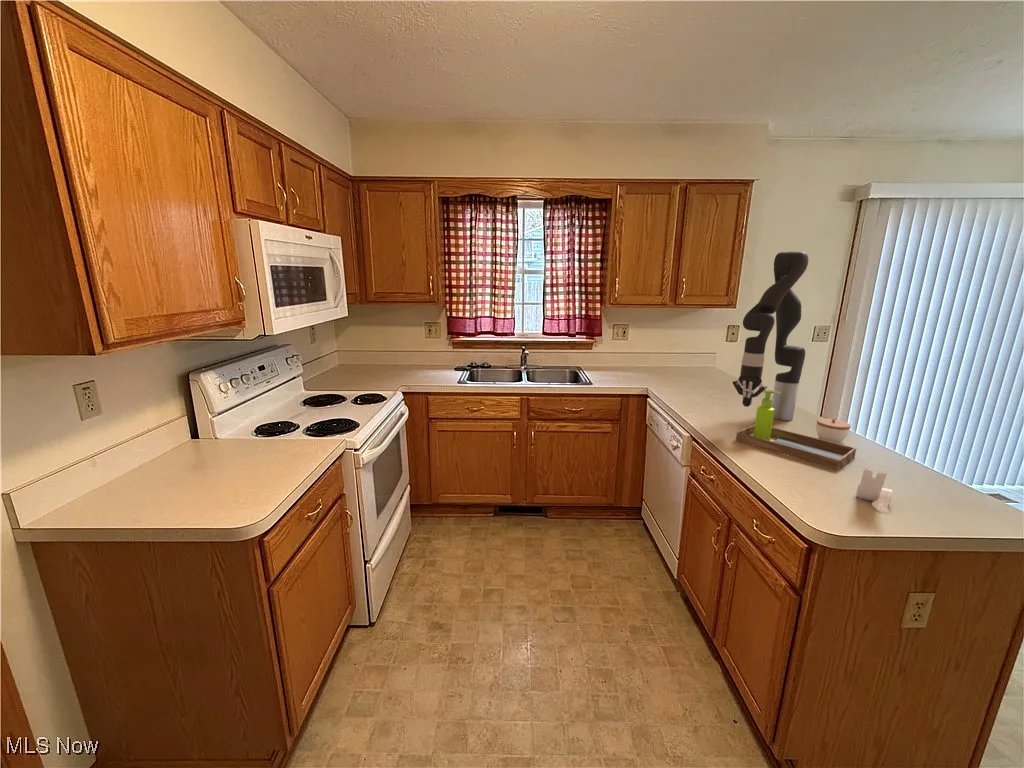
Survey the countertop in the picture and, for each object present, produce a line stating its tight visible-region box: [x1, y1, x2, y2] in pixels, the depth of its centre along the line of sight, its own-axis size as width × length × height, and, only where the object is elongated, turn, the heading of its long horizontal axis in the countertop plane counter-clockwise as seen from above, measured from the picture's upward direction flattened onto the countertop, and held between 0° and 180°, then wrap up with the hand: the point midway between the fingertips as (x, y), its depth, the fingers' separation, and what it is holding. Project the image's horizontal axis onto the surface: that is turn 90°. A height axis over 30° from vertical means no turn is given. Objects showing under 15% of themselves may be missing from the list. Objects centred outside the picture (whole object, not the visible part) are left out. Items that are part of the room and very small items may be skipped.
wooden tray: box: [735, 423, 857, 471], centre depth 165 cm, size 18×34×4 cm, turn 39°
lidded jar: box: [815, 417, 851, 444], centre depth 172 cm, size 11×11×9 cm
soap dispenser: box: [752, 389, 781, 441], centre depth 172 cm, size 6×7×20 cm
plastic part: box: [855, 466, 894, 515], centre depth 124 cm, size 8×10×12 cm
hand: (746, 406), depth 177 cm, fingers closed
